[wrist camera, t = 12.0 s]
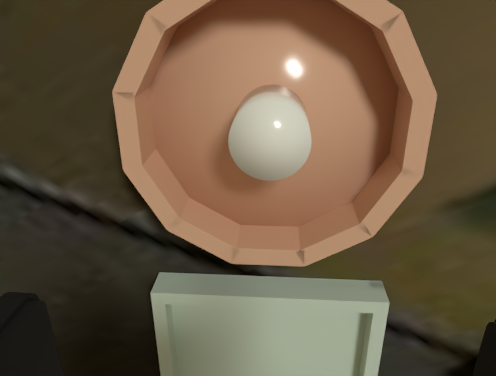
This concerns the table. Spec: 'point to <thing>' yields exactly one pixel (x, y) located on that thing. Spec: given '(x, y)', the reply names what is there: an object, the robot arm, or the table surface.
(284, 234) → the bowl
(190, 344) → the tray
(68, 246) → the table surface
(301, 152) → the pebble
